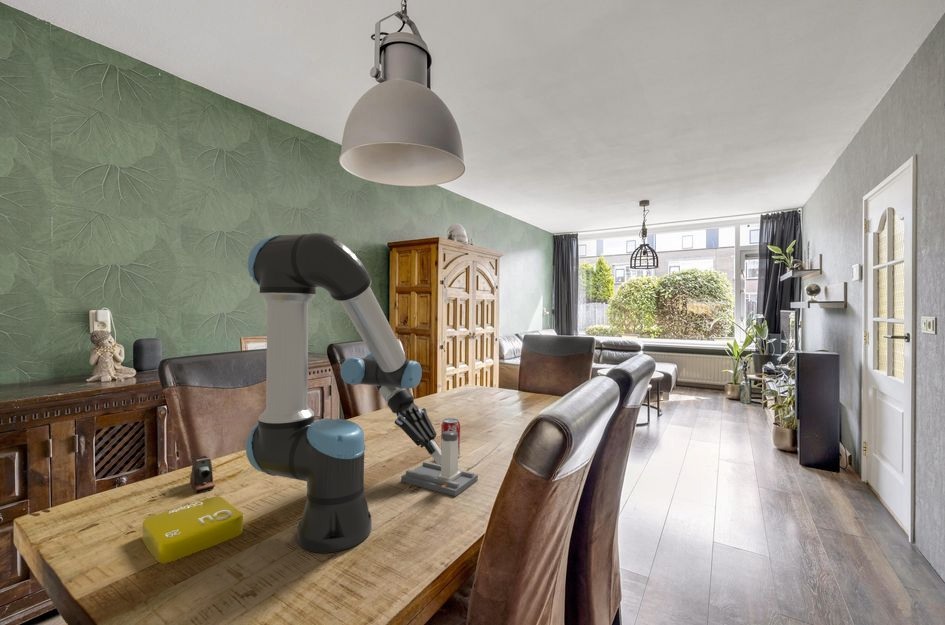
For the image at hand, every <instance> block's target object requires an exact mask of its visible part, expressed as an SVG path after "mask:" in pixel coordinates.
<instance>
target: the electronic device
mask: <svg viewBox="0 0 945 625" xmlns="http://www.w3.org/2000/svg"><path fill="white" fill-rule="evenodd" d="M190 472H191V473H190V478H189V479H190V480H189V482H190V484H191V487H192V488H193V490H194V492H195V493H196V494H199V493H203V492H207V491H206V490H208V491H211V490H210V489H212V490H214V488H215V486H216V484H215V482H214V476H213V465H212V459H211V458H210V457H209V456H206V455H201V456H196V457H193V459H192V468H191V471H190ZM202 491H203V492H202ZM198 492H199V493H198Z"/></svg>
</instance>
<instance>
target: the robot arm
mask: <svg viewBox="0 0 945 625" xmlns="http://www.w3.org/2000/svg"><path fill="white" fill-rule="evenodd" d="M247 270H248V274H249V276H250V277H251V278H252V280H253V282H254V283H255V284H256V285H258V287H259V296H260V297H261V298H263V300H265V302H266V373H265V374H266V377H265V378H266V382H265V383H266V384H265V385H266V386H265V387H266V388H265V389H266V391H265V392H266V393H265V395H266V396H265V410H264V411H263V412H262V413H261V414H260V415H259V416H258V420H257V421H258V422H257V424H255V425H254V426H253V427H252V428H251V433H250V434H248V436H247V439H246V443H245V453H246V457H247V461H248V462H249V464H250V465H251V467H253V468H254V469H255V470H257V471H258V472H261V473H264V474H266V475H268V476H272V477H276V476H278V477H282V478H288V479H293V480H299V481H303V482H306V503H305V506H304V508H303V513H302V515H301V519H300V521H299V524H298V526H297V532H296V533H297V538H296V540H297V544H298V545H299V546H300V547H301V548H302V549H304V550H305V551H309V552H313V553H319V554H320V553H321V554H322V553H325V554H326V553H327V554H328V553H334V552H335V553H337V552H340V551H341V552H342V551H344V550H347V549H350V548H353V547H355V546H357V545H359V544H360V543H362V542H363V541H365V540H366V539H367V538H368V537H369V535H370V534H371V531H372V514H371V512H370V509H369V507H368V506H369V505H368V503H367V502H368V501H367V499H366V496H365V491H364V490H365V489H364V487H365V486H364V485H365V451H366V443H365V434H364V430H363V428H362V427H361V426H360V425H359V424H358V423H356V422H354V421H350V420H347V419H343V418H342V419H341V418H335V419H334V418H323V419H318V420H315V411H314V410H313V409H311V408H310V407H309V406H308V405H309V404H308V399H309V398H308V396H309V395H308V392H309V388H308V382H309V381H308V380H309V378H308V376H309V371H308V370H309V368H308V366H309V303H310V302H311V301H312V300H313V299H314V298H315V297H316V296H317V295H316V294H317V288H318V287H319V288H322V289H325V290H326V291H327V292H328V293H329V295H330V297H331V298H332V300H334V301H336V302H340V304H341V306H342V308H343V309H344V311H345V313H346V314H347V316H348V318H349V319H350V320H351V322H352V324H353V326H354V327H355V329H356V331H357V332H358V334H359V336H360V337H361V339H362V342H364V344H365V345H366V347H367V349H368V350H369V352H370V353H369V354H367V355H366V356H365V357H358V356H355V357H349V358H346V359H345V360H344V362H343V363H342V364H341V366H340V377H341V379H342V380H343V382H345V383H346V384H348V385H365V386H366V385H367V386H374V387H375V388H376V390H377V391H378V393H379V394H380V395H381V397H382V399H383V400H384V402H386V403H387V406H388V408H389V410H390V411H391V412H392V413H393V414H396V416H397V418H396V420H394V421H393V422H394V424H395V425H396V426H397V427H399V428H400V429H401V430H402V431H403V432H404V433H405V434H406V435H407V436H408V438H410V440H411V441H412V442H413V443H414V444H415V445H416V446H417V447H420V448H425V450H426V451H427V453H428V454H429V455H431V457H432V459H433V460H434V461H435V464H438V465H441V446H440V445H439V444H438V442H437V441H436V440H435V438H437V431H436V430H435V428H434V426H433V424H432V422H431V420H430V418H429V416H428V413H427V409H426V408H425V407H423V408H419V407H418V405H416V404H415V402H414V400H415V399H414V396H413V394H412V393H411V391H410V390H409V389H414V388H417V387H418V386H419V385H420V382H421V379H422V375H423V373H422V372H423V371H422V366H421V364H420V362H418V361H415V360H409V359H408V358H407V357H406V354H405V353H404V350H403V348H402V346H401V344H400V342H399V341H398V338H397V337H396V334H395V332H394V331H393V329H392V327H391V325H390V322H389V321H388V319H387V317H386V315H385V313H384V310H383V309H382V307H381V306H380V303H379V301H378V299H377V298H376V295H375V294H374V292H373V290H372V287H371V285H372V278H371V277H370V274H369V272H368V270H367V268H366V267H365V265H364V263H363V262H362V261H361V260H360V259H359V257H358V256H357V255H356V254H355V253H354V252H353V251H352V250H351V248H349V247H348V246H347V245H346V244H344V243H343V241H340V240H338V239H337V238H335V237H334V236H331V235H328V234H327V233H326V234H325V233H321V232H314V233H313V232H312V233H304V234H278V235H273V236H269V237H266V238H263V239H261V240H259V241H258V242H257V243H255V245H253V247H252V248H251V250H250V252H249V254H248V258H247ZM316 287H317V288H316Z"/></svg>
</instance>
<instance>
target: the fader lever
mask: <svg viewBox="0 0 945 625" xmlns="http://www.w3.org/2000/svg"><path fill="white" fill-rule="evenodd" d="M440 439H441V438H440ZM440 443H441V444H440V449H441V464H440V465H441V474H440V475H439V476H437V477H438V478H442V479H446V480H449V481H453V480H455V479H456V478H458V477H459V476H461V472H460V471H458V469H459V461H458V460H459V456H458V433H457V432H455V431H445V432H443V433H442V439H441V441H440Z"/></svg>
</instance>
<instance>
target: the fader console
mask: <svg viewBox="0 0 945 625" xmlns="http://www.w3.org/2000/svg"><path fill="white" fill-rule="evenodd" d="M458 471H460V472H461V476H459V477H458V478H456V479H455V480H453V481H449V480H446V479H442V478H438V477H437V476H439V475H440V474H441V464H439V465H438V464H437V463H436V462H435V463H434V462H432V461H431V462H430V461H426V460H425V461H423V462H422V464H420V465H419V466H418V467H416V468H414V469H412V470H410V469H408V470H406V471H405V474H403V475H401V477H400V478H401V479H400V481H401V482H402V483H406V484H409V485H413V486H417V487H420V488H424V489H428V490H430V491H434V492H439V493H442V494H445V495H448V496H453V497H457V496H458V495H459V494H461V493H462V492H464V491H466V490H467V489H468V488H469V487H470V486H472V485H473V484H474V483H476V482H478V481H479V479H478V478H479V475H478V474H475V473H474V472H472V471H468V470H464V469H460V468H458Z"/></svg>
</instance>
